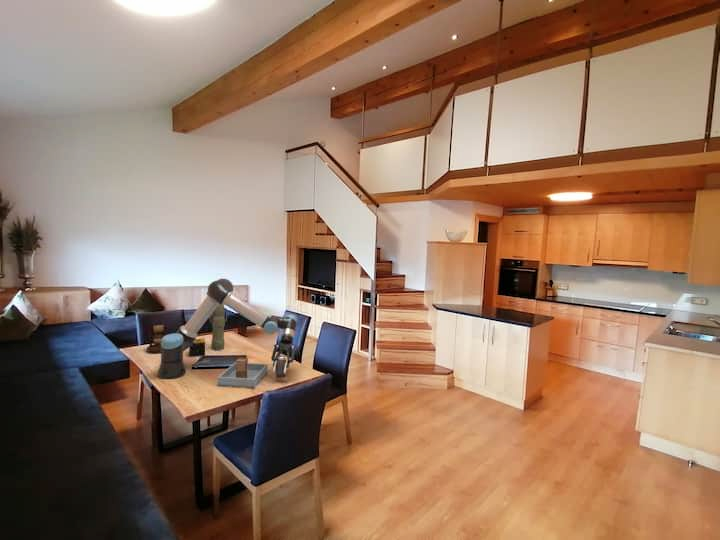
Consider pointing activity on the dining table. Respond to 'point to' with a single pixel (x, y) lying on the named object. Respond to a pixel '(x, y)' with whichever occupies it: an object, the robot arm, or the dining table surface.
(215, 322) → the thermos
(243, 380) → the tray
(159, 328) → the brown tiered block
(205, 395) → the dining table surface
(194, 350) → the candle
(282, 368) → the pepper mill
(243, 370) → the walnut block
